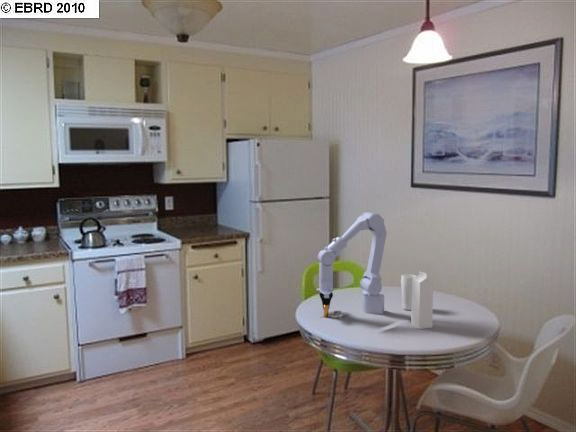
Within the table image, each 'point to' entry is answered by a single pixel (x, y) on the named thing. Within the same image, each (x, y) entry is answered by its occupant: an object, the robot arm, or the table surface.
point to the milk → (422, 301)
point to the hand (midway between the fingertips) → (326, 310)
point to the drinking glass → (406, 291)
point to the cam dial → (332, 313)
